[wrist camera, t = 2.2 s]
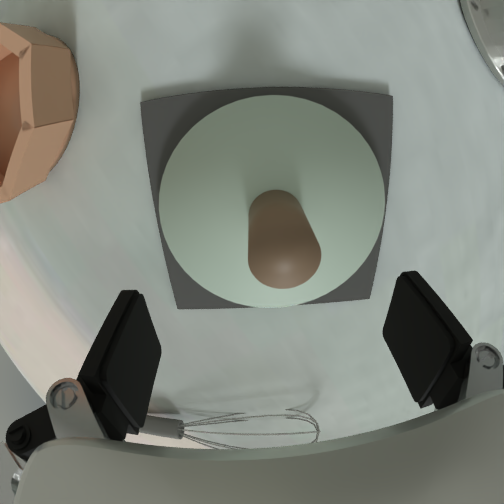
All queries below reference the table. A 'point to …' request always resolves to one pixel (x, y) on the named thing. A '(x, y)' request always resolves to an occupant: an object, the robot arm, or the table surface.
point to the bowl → (33, 106)
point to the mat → (203, 103)
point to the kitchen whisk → (176, 427)
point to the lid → (271, 201)
